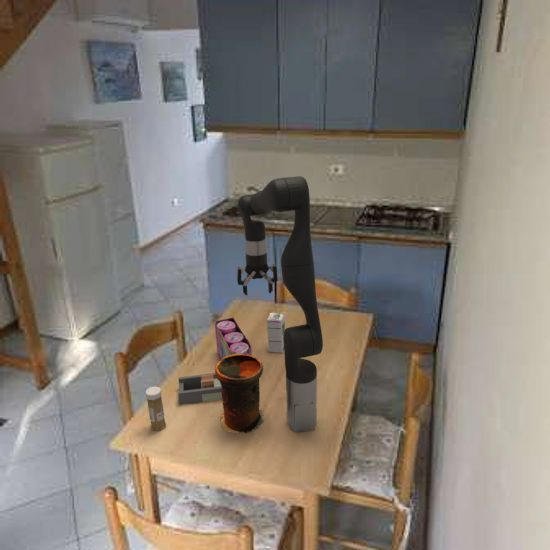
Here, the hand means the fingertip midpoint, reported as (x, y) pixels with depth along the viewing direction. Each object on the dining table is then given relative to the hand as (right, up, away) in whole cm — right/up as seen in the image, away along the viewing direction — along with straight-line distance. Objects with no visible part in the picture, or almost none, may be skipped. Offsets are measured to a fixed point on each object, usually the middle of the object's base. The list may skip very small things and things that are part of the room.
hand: (258, 293), depth 178 cm
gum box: (-9, -27, +6) cm, 29 cm away
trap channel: (-15, -33, -9) cm, 38 cm away
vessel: (-4, -39, -23) cm, 45 cm away
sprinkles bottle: (-30, -41, -25) cm, 56 cm away
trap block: (-17, -31, -11) cm, 37 cm away
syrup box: (+7, -23, +15) cm, 28 cm away
